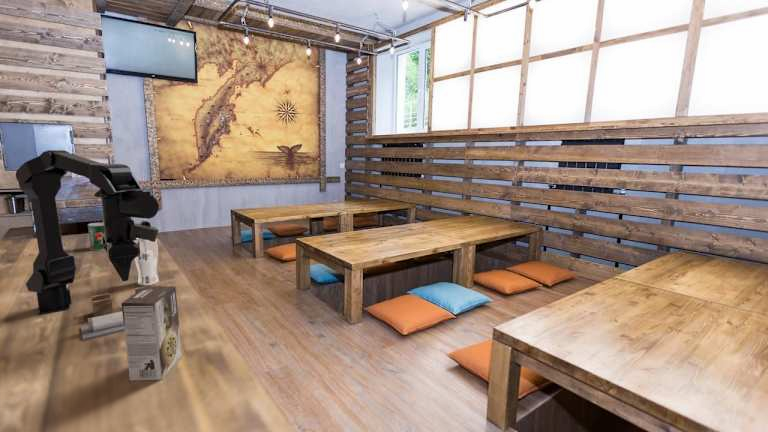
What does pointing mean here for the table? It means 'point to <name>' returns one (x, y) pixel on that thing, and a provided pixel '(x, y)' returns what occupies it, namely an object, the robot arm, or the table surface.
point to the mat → (99, 331)
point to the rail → (105, 321)
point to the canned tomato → (96, 235)
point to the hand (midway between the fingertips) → (122, 275)
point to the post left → (102, 305)
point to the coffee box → (151, 332)
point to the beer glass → (147, 262)
